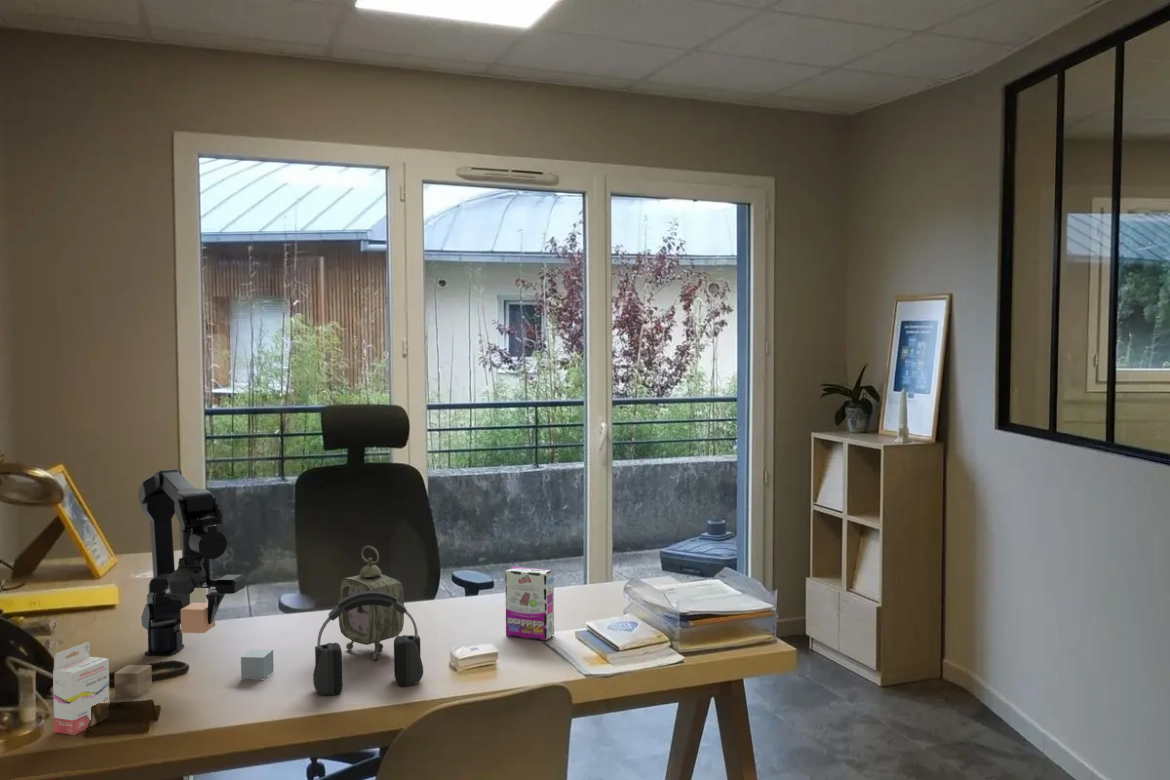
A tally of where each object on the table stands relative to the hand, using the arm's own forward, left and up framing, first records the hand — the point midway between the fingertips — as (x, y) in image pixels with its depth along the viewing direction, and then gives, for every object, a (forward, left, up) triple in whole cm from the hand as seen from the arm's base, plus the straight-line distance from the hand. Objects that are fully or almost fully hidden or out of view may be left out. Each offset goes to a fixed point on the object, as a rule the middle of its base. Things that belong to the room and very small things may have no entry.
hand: (198, 623), depth 196 cm
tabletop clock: (+32, +19, -12) cm, 39 cm away
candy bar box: (+67, +33, -12) cm, 76 cm away
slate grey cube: (+12, +2, -12) cm, 17 cm away
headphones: (+38, -2, -12) cm, 40 cm away
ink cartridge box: (-10, -25, -12) cm, 30 cm away
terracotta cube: (0, 0, -1) cm, 1 cm away
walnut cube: (-10, -9, -12) cm, 18 cm away
